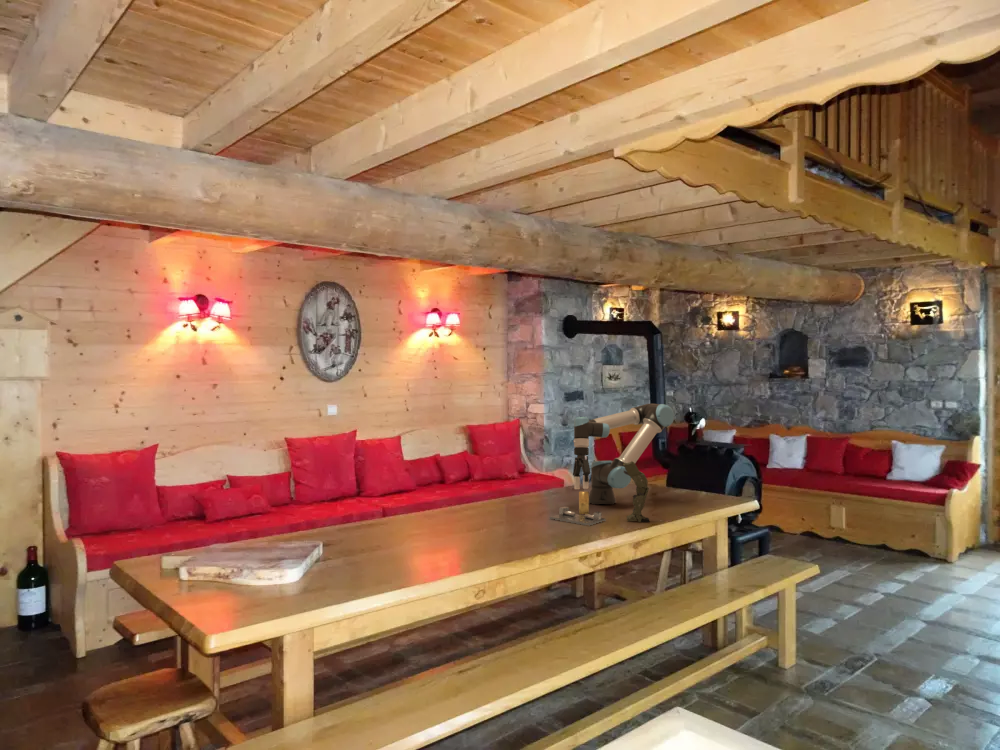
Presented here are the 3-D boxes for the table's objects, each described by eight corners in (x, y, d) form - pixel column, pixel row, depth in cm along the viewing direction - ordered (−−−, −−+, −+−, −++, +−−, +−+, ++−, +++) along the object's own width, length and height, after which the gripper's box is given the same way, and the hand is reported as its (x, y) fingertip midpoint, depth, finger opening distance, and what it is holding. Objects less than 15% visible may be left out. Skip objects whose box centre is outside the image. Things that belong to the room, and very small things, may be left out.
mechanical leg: (656, 517, 345) (641, 457, 346) (657, 521, 338) (642, 459, 339) (628, 524, 347) (613, 464, 347) (629, 527, 339) (614, 466, 340)
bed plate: (549, 519, 346) (549, 509, 346) (566, 514, 357) (566, 505, 357) (589, 526, 331) (589, 516, 331) (605, 521, 342) (605, 511, 342)
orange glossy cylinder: (583, 512, 363) (583, 490, 363) (590, 513, 359) (591, 492, 359) (576, 513, 360) (576, 491, 360) (584, 515, 356) (584, 493, 356)
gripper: (566, 448, 378) (566, 489, 374) (582, 444, 354) (582, 488, 350) (580, 449, 379) (580, 489, 375) (596, 445, 355) (596, 488, 351)
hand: (581, 489), depth 363 cm, fingers open, 13 cm apart
